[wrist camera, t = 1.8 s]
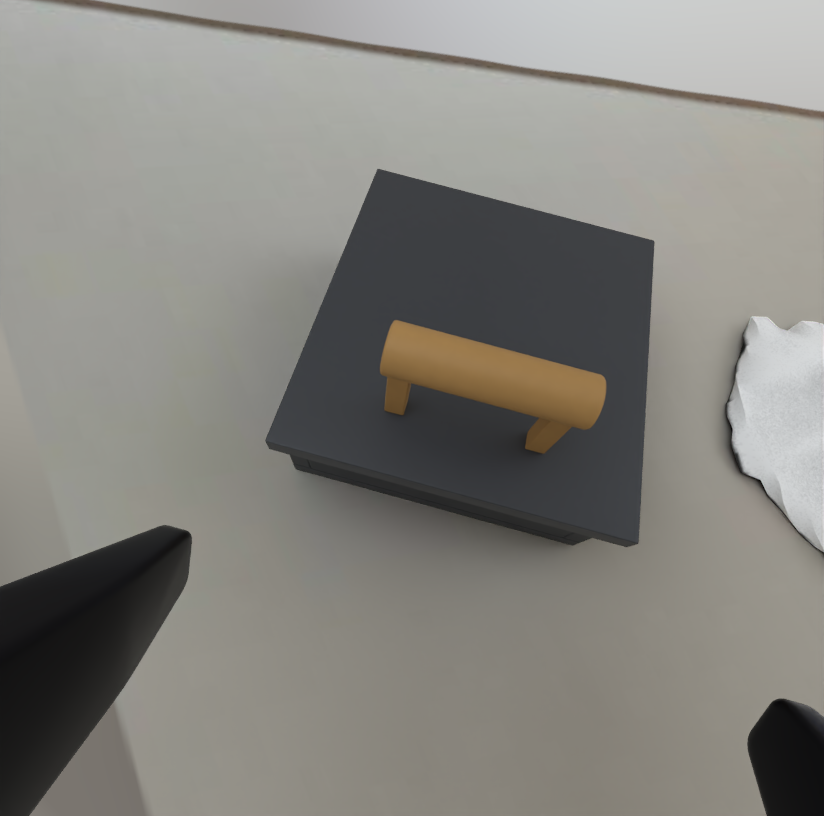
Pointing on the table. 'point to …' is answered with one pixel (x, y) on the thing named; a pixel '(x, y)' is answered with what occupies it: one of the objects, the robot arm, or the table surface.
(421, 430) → the lid
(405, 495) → the dark grey square box
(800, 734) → the robot arm
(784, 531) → the table surface
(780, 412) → the cloth
